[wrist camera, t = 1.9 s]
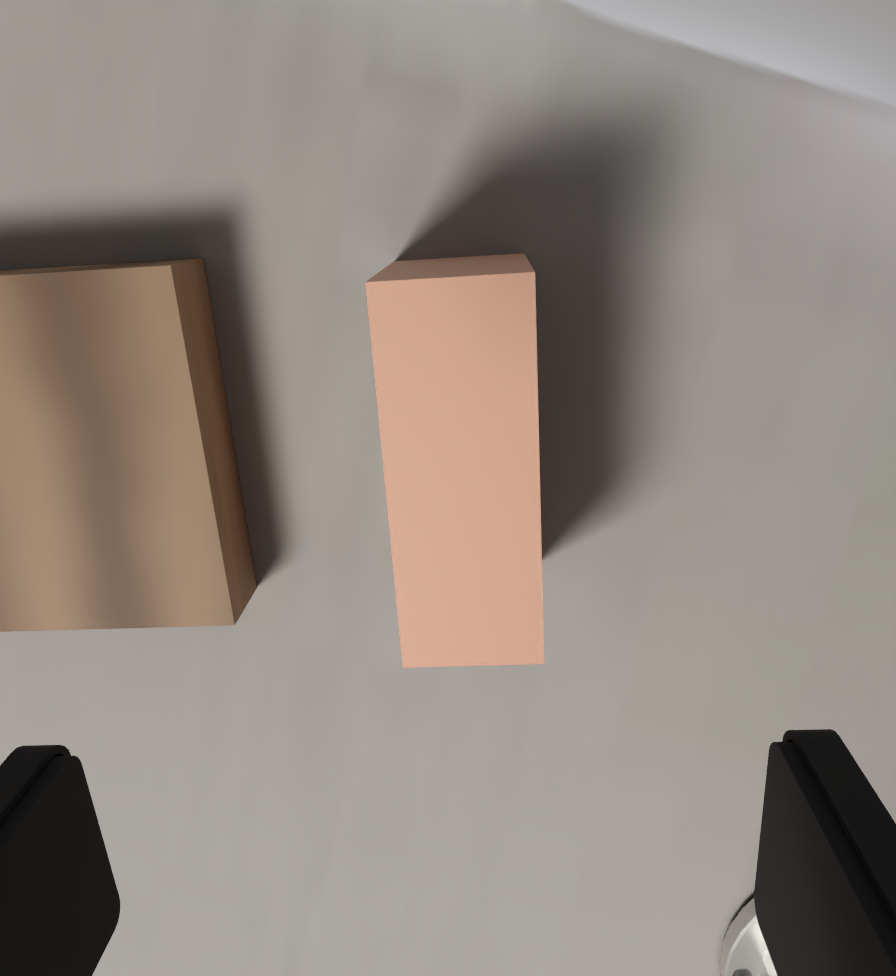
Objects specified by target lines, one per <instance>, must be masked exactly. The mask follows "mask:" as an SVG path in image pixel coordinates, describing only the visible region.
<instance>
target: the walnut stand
mask: <svg viewBox="0 0 896 976" xmlns="http://www.w3.org/2000/svg"><path fill="white" fill-rule="evenodd" d="M256 588H257V584H256V578H255V572H254V566H253V560H252V554H251V548H250V541H249V535H248V529H247V523H246V517H245V511H244V505H243V499H242V493H241V486H240V480H239V474H238V468H237V462H236V456H235V450H234V444H233V438H232V432H231V425H230V419H229V413H228V407H227V401H226V395H225V389H224V383H223V377H222V371H221V364H220V358H219V352H218V346H217V340H216V334H215V328H214V322H213V316H212V310H211V303H210V297H209V291H208V285H207V279H206V273H205V267H204V261H203V258H193V259H177V260H160V261H144V262H127V263H111V264H94V265H78V266H61V267H44V268H28V269H11V270H0V632H5V631H41V630H77V629H114V628H150V627H186V626H222V625H235V624H236V622H237V620H238V619H239V617H240V615H241V614H242V612H243V610H244V609H245V607H246V605H247V603H248V602H249V600H250V598H251V597H252V595H253V593H254V592H255V590H256Z"/></svg>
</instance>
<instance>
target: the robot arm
mask: <svg viewBox="0 0 896 976" xmlns="http://www.w3.org/2000/svg"><path fill="white" fill-rule="evenodd" d="M119 913H120V899H119V894H118V891H117V887H116V884H115V880H114V877H113V873H112V870H111V866H110V863H109V859H108V855H107V852H106V848H105V845H104V841H103V838H102V834H101V831H100V827H99V824H98V820H97V816H96V813H95V809H94V806H93V802H92V799H91V795H90V792H89V788H88V785H87V781H86V778H85V774H84V770H83V767H82V764H81V761H80V759H79V758H78V757H77V756H71V755H70V752H69V750H68V749H67V748H66V747H65V746H61V745H41V746H21V747H18V748H16V749H15V750H14V751H13V752H12V753H11V754H10V755H9V756H8V757H7V758H6V760H5V761H4V762H3V763H2V764H1V766H0V976H92V974H93V972H94V970H95V968H96V966H97V964H98V962H99V960H100V958H101V956H102V954H103V952H104V950H105V948H106V946H107V944H108V942H109V940H110V938H111V936H112V934H113V932H114V930H115V928H116V925H117V922H118V919H119ZM719 965H720V973H721V976H896V824H895V822H894V820H893V819H892V817H891V816H890V814H889V813H888V811H887V810H886V808H885V806H884V805H883V803H882V802H881V800H880V799H879V797H878V796H877V794H876V792H875V791H874V789H873V788H872V786H871V785H870V783H869V782H868V780H867V778H866V777H865V775H864V774H863V772H862V771H861V769H860V768H859V766H858V764H857V763H856V761H855V760H854V758H853V757H852V755H851V753H850V752H849V750H848V749H847V747H846V746H845V744H844V743H843V741H842V739H841V738H840V737H839V735H838V734H837V733H836V732H835V731H833V730H831V729H829V730H789V731H786V732H785V734H784V736H783V741H782V742H773V743H772V744H771V745H770V749H769V757H768V766H767V776H766V785H765V795H764V805H763V814H762V824H761V833H760V843H759V853H758V862H757V872H756V881H755V891H754V898H753V899H752V900H751V901H750V902H749V903H748V904H747V905H745V906H744V907H743V908H742V909H741V911H740V912H739V914H738V915H737V916H736V918H735V919H734V921H733V922H732V923H731V925H730V926H729V929H728V931H727V933H726V936H725V938H724V940H723V943H722V947H721V954H720V960H719Z"/></svg>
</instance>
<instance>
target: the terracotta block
mask: <svg viewBox="0 0 896 976" xmlns="http://www.w3.org/2000/svg"><path fill="white" fill-rule="evenodd" d="M365 284H366V294H367V305H368V315H369V325H370V335H371V346H372V356H373V366H374V376H375V387H376V397H377V407H378V418H379V428H380V438H381V448H382V459H383V469H384V479H385V489H386V500H387V510H388V520H389V531H390V541H391V551H392V561H393V572H394V582H395V592H396V603H397V613H398V623H399V633H400V644H401V654H402V664H403V668H406V667H444V666H482V665H520V664H544V630H543V587H542V544H541V501H540V458H539V416H538V373H537V330H536V287H535V271H534V269H533V267H532V266H531V264H530V262H529V261H528V259H527V257H526V255H525V254H524V253H518V254H501V255H485V256H469V257H453V258H437V259H421V260H404V261H394V262H393V263H391V264H390V265H388V266H387V267H386V268H384V269H383V270H382V271H380V272H379V273H377V274H376V275H375V276H373V277H372V278H371V279H369V280H368V281H366V282H365Z"/></svg>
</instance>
